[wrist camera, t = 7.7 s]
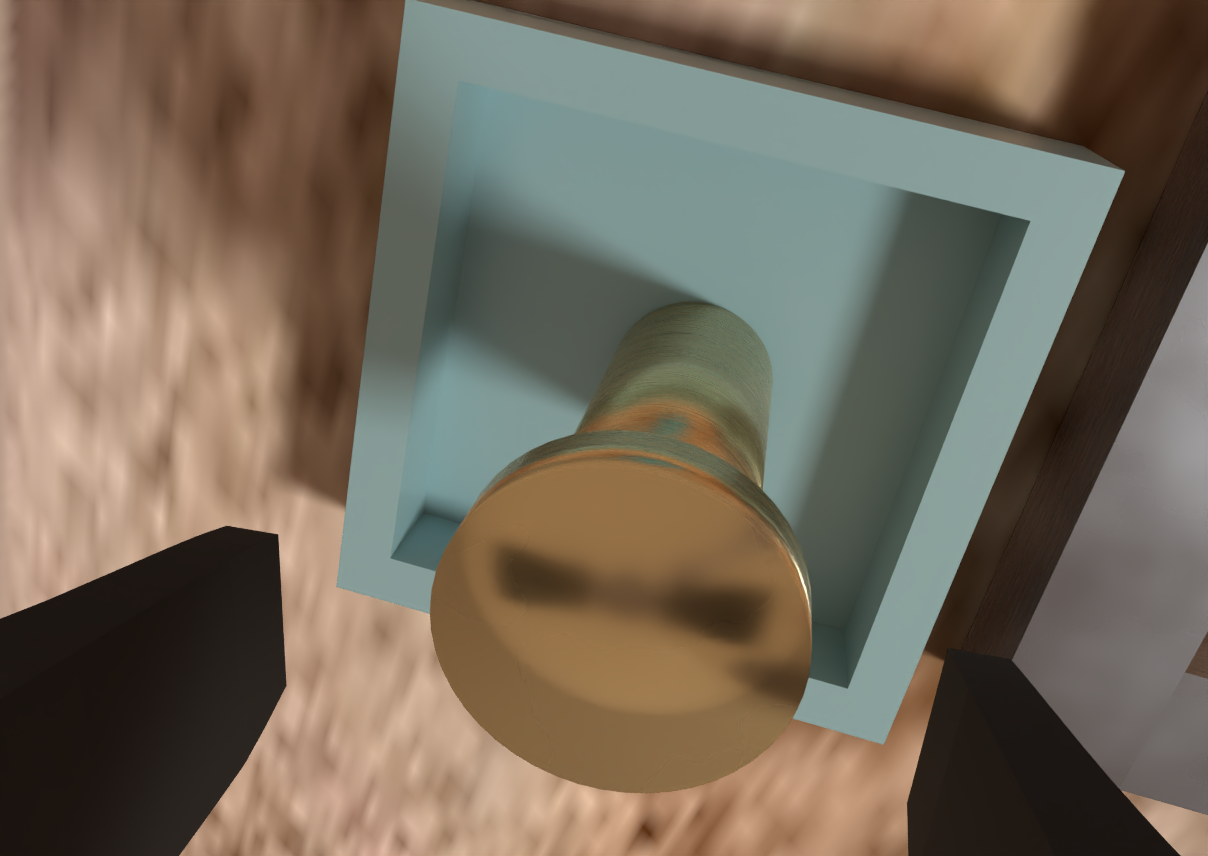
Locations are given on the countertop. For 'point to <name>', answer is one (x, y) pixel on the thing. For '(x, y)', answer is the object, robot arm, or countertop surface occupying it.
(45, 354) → the countertop surface
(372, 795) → the countertop surface
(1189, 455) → the grey flat block
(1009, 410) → the pin tray
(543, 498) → the pin
